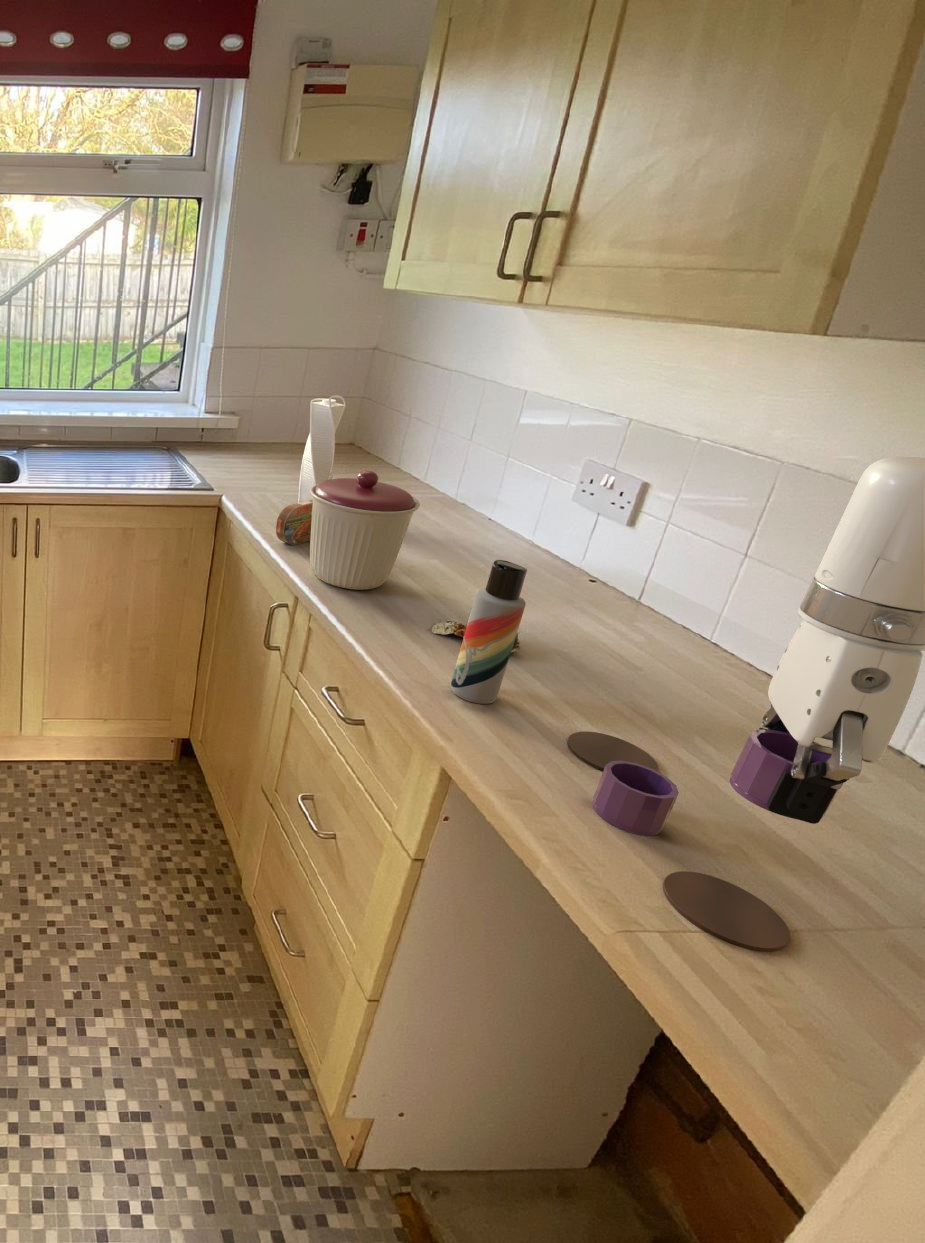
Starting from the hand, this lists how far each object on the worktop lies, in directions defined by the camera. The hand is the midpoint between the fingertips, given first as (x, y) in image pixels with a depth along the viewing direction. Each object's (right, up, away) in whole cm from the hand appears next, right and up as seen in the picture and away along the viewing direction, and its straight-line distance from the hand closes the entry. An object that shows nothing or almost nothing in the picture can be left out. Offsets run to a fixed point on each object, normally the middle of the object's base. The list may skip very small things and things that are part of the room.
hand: (778, 790), depth 68 cm
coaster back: (+6, -4, +27) cm, 28 cm away
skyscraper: (+4, +30, +112) cm, 116 cm away
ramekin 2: (0, -1, 0) cm, 1 cm away
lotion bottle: (-3, +1, +39) cm, 39 cm away
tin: (-5, +23, +95) cm, 97 cm away
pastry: (+6, +7, +54) cm, 54 cm away
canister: (-4, +16, +76) cm, 77 cm away
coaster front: (-1, -13, +5) cm, 14 cm away
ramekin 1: (0, -8, +17) cm, 18 cm away
